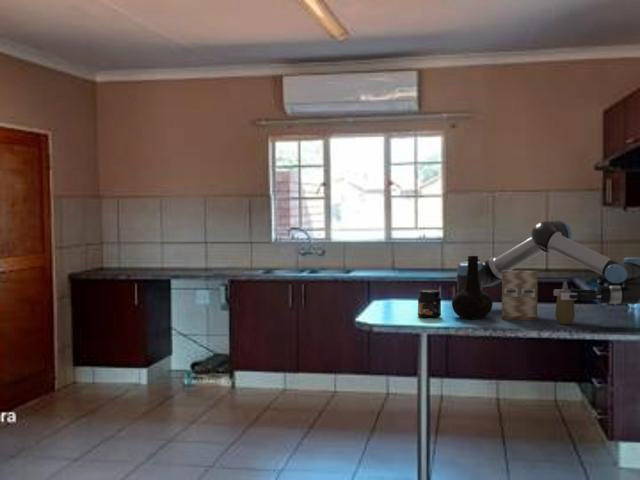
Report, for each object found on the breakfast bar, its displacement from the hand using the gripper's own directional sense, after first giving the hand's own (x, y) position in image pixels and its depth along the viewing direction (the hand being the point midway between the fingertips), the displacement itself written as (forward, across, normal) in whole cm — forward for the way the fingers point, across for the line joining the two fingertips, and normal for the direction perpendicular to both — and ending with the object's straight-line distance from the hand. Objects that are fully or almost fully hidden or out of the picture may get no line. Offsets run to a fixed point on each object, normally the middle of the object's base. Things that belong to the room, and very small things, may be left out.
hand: (557, 294), depth 321 cm
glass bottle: (+34, +14, -13) cm, 39 cm away
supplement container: (+53, +16, -13) cm, 57 cm away
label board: (+14, +12, -13) cm, 22 cm away
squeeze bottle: (-3, 0, -13) cm, 13 cm away
